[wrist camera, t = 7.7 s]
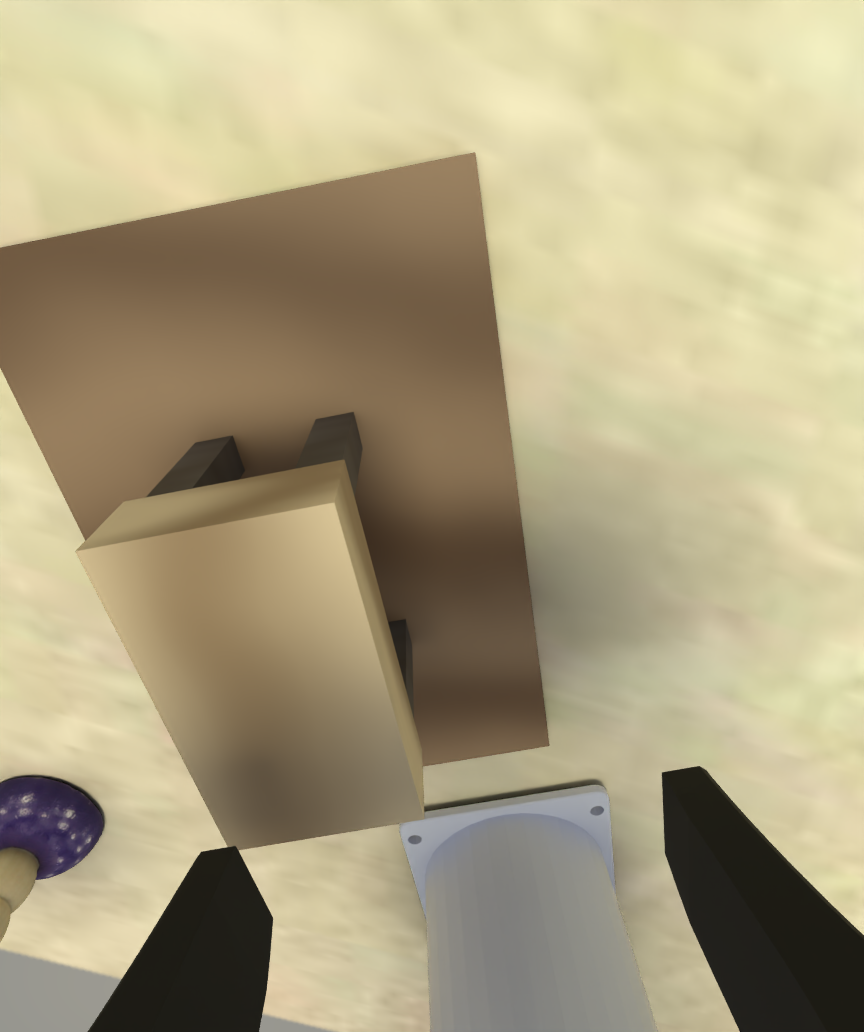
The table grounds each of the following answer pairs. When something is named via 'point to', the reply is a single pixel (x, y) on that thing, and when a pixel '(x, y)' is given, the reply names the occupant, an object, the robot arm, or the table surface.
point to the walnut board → (308, 398)
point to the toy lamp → (41, 836)
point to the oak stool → (267, 640)
